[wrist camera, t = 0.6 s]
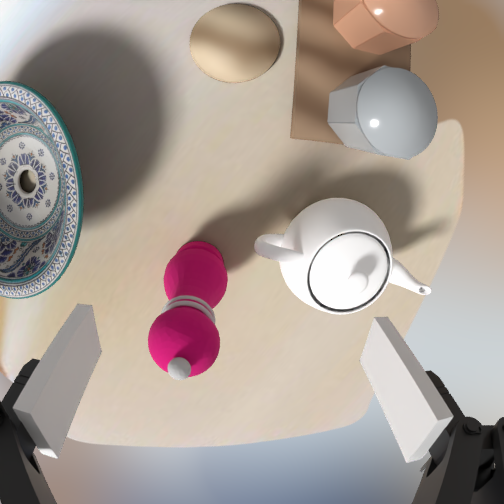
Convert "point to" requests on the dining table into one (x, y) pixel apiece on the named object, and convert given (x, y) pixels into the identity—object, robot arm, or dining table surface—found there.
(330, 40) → the board
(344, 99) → the grey faceted canister
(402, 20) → the peach faceted canister
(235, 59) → the coaster
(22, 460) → the robot arm
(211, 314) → the pepper mill
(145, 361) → the dining table surface
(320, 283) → the teapot
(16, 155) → the bowl
